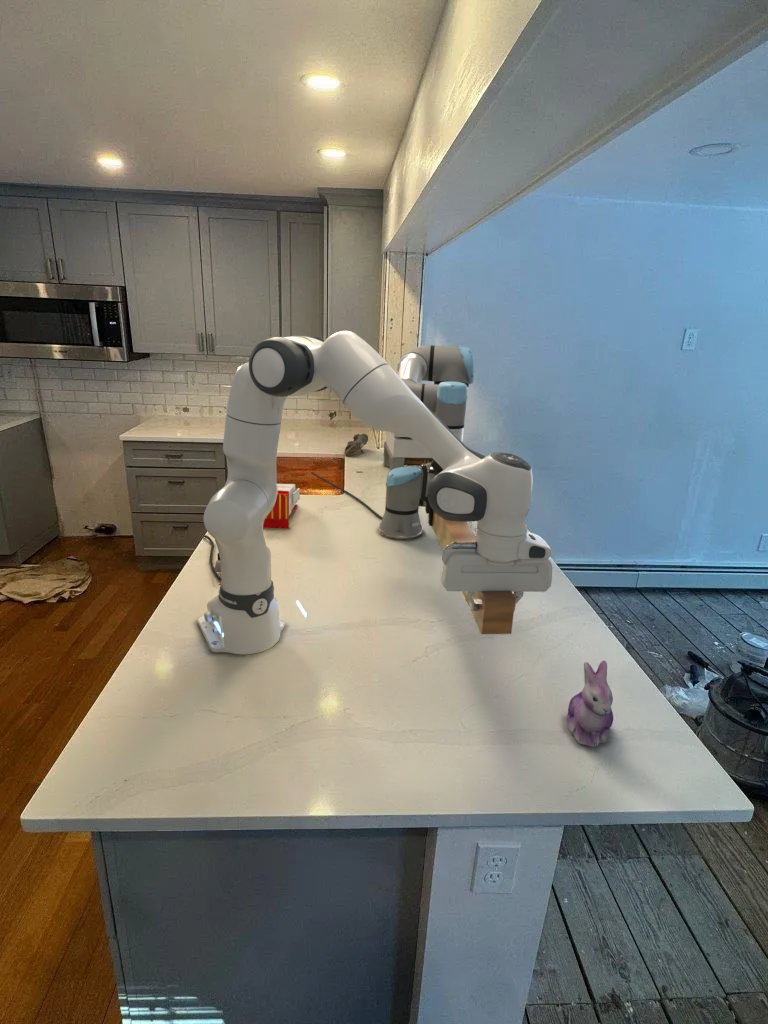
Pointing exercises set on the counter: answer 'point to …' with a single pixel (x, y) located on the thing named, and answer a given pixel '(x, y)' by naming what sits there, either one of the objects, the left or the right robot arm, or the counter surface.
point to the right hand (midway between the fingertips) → (441, 524)
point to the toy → (282, 507)
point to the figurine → (591, 708)
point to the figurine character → (218, 565)
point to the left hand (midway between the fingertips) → (491, 609)
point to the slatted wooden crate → (403, 451)
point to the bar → (492, 604)
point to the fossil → (356, 444)
